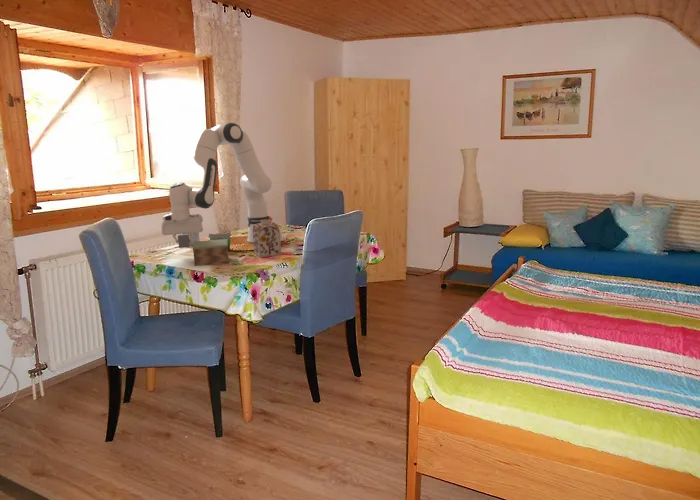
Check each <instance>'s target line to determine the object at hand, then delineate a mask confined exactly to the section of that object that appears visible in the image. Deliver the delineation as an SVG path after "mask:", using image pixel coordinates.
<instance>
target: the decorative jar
mask: <svg viewBox="0 0 700 500" xmlns="http://www.w3.org/2000/svg"><path fill="white" fill-rule="evenodd" d="M278 225H279V224H278V223H276V222H274V221H273V222H272V221H271V222H270V220H261V223H257V224H255V225H254V227H253V242H252V243H253V252H254V254H255V255H256V256H257V257H258V258H266V257H273V256H274V257H275V256H282V247H281V245H282V243H281V242H282V241H280V230H279V228H280V227H279V226H278Z"/></svg>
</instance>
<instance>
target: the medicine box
mask: <svg viewBox="0 0 700 500" xmlns="http://www.w3.org/2000/svg"><path fill="white" fill-rule="evenodd" d="M185 234H189V238H190V237H191V235H190V233H185ZM194 241H201V240H200V232H197V233H193V237H192V242H190V246H189V247H193V243H194Z"/></svg>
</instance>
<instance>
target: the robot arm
mask: <svg viewBox="0 0 700 500" xmlns="http://www.w3.org/2000/svg"><path fill="white" fill-rule="evenodd" d="M200 132H201V133H200V134H199V137H198V139H197V141H196V143H195V147H194V150H193V159H194V162H195V164H197V165H198V166H200V167H201V168H202V169H203V171H204V172H203V173H204V175H203V180H202V186H201V187H200V188H198V187H193V186H189V185H187V184H186V183H185V182H177V183H173V184H172V185H171V186H170V187H169V193H168V194H169V203H170V206H171V208H170V212H169V213H167V214H164V215H163V216H162V222H161V234H162V235H163V236H170V235H172V237H173V239H174V241H175V244H176V243H177V244H179V243H178V237H176V236H177V235H180V234H185V233H190V235H191V237H190V238H189V242H192V237H193V233H197V232H199V233H202V232H203V231H204V227H203V221H204V220H203V216H202V214H199V213H196V214H191V213H190V212H191V211H190V207H192V208H193V207H195V208H200V209H204V210H205V209H209V208H210V207H212V206H213V204H214V203H215V188H216V180H217V172H218V171H217V170H218V163H217V161H216V158H217V154H218V153H217V152H218V148H219V146H222V145H223V146H225V145H230V146H231V148H232V151H233V154H234V156H235V159H236V163H237V164H238V167H239V168H240V169H241V170H242V172H243V175H241V177H240V180H239V184H240V187H241V188H242V190H243V194H244V197H245V200H246V206H247V208H246V209H247V219H246V221H247V226H248V232H247V233H248V234H247V240H246V242H247V243H253V227H254V225H255V224H257V223H261V220H270V222H272V221H273V217H272V216H269V215H268V208H267V207H268V204H267V201H266V199H265V196H264V194H265V193H267V192H269V191H270V190H271V189H272V186H273V185H272V184H273V182H272V179H271V178H270V177H269V176H268V175H267V173H266V172H265V170H264V169H263V167H262V165H261V164H260V161H259V160H258V159H259V158H258V157H257V154H256V151H255V147H254V145H253V143H252V141H251V139H250V137H249V135H248V134H247V132H246V131H244V130H242V128H241V127H240V126H239V124H237V123H236V122H235V123H234V122H225V123H220V124H217V125H213V126H211V127H210V128H205V129H203V130H202V131H200ZM279 230H280V242H283V241H286V240H287V236H285V235H283V232H282V229H281V228H280V227H279Z"/></svg>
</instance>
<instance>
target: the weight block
mask: <svg viewBox="0 0 700 500" xmlns="http://www.w3.org/2000/svg"><path fill="white" fill-rule="evenodd" d="M177 239H178V243H177V244H178V249H183V248H190V247H191V246H190V242H189V234H177Z"/></svg>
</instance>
